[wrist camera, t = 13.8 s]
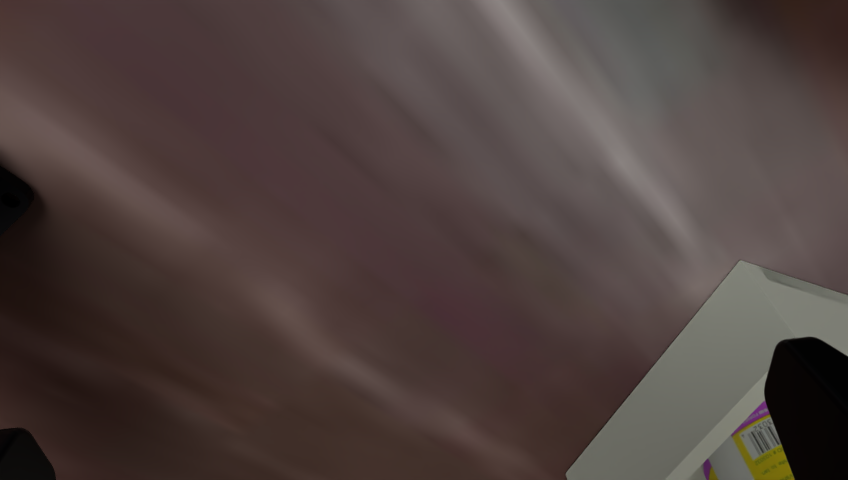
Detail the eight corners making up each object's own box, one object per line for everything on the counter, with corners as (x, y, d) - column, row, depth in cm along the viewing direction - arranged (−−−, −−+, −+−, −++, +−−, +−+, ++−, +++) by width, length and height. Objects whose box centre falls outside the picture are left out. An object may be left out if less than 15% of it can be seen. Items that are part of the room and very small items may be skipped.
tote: (565, 473, 31) (589, 559, 28) (740, 259, 25) (797, 339, 22) (786, 518, 35) (830, 599, 32) (990, 342, 28) (1072, 421, 25)
